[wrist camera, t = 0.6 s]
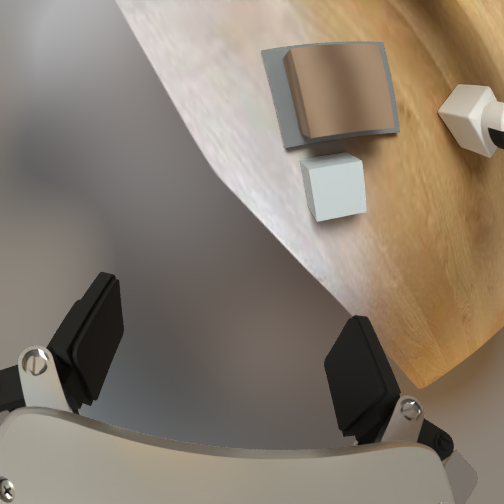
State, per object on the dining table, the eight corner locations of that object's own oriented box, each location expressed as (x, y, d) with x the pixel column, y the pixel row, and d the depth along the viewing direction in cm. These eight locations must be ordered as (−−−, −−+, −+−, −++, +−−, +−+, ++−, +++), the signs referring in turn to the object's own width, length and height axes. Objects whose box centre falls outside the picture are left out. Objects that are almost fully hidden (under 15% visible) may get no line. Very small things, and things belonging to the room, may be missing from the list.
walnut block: (356, 52, 24) (378, 44, 18) (371, 122, 28) (394, 127, 23) (282, 59, 24) (290, 48, 19) (299, 132, 29) (311, 138, 24)
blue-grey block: (345, 152, 31) (362, 160, 26) (350, 196, 34) (366, 211, 29) (299, 159, 32) (308, 169, 27) (307, 204, 35) (317, 221, 30)
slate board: (378, 43, 23) (382, 42, 22) (395, 131, 29) (399, 132, 28) (261, 52, 25) (261, 50, 24) (284, 146, 31) (285, 148, 30)
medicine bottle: (480, 119, 27) (535, 135, 16) (459, 147, 29) (515, 170, 19) (457, 83, 24) (516, 89, 14) (435, 111, 27) (495, 124, 17)
